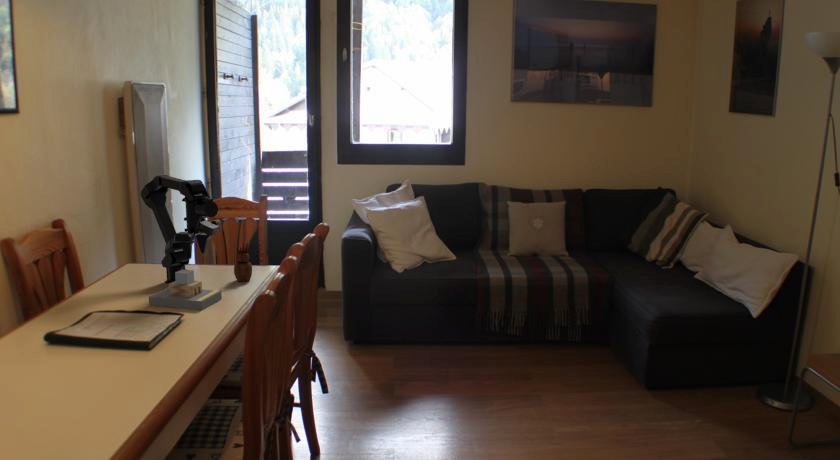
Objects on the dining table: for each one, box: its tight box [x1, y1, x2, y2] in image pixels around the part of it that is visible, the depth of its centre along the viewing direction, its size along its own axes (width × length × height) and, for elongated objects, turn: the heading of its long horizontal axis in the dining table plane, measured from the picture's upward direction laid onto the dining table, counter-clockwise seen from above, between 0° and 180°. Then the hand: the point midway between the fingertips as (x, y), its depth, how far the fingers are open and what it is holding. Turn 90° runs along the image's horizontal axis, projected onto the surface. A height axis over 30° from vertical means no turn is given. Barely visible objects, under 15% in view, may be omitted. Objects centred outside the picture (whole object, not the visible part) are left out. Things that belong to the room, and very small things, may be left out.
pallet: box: [168, 280, 203, 297], centre depth 236 cm, size 9×6×4 cm, turn 77°
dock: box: [148, 287, 222, 311], centre depth 237 cm, size 20×13×3 cm, turn 77°
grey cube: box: [175, 269, 195, 285], centre depth 235 cm, size 4×4×4 cm
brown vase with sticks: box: [233, 242, 253, 282], centre depth 264 cm, size 7×6×15 cm
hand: (196, 255), depth 253 cm, fingers open, 9 cm apart
